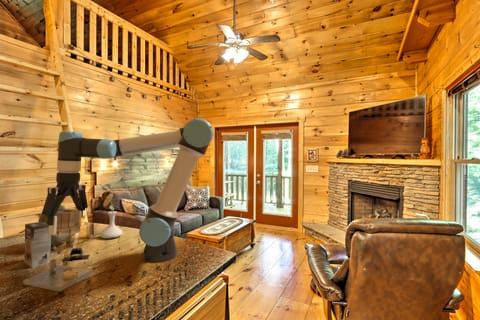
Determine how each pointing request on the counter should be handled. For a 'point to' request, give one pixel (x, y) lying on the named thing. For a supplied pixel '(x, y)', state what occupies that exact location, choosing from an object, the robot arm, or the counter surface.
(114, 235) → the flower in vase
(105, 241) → the counter surface
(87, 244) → the counter surface
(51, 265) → the carrier
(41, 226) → the coffee box
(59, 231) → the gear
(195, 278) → the counter surface
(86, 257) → the black piece
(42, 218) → the tabletop clock
